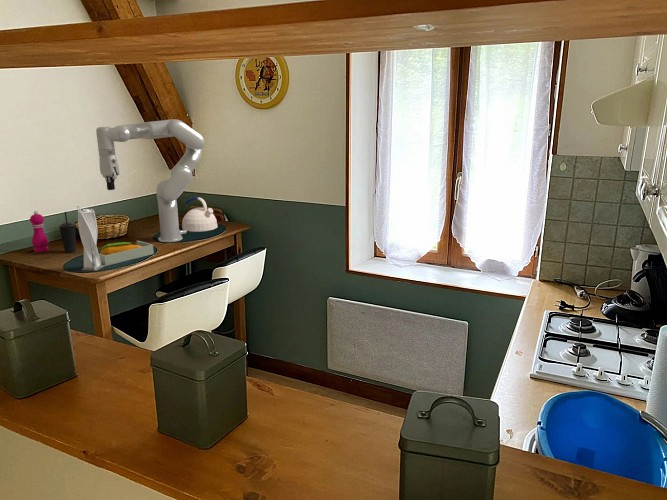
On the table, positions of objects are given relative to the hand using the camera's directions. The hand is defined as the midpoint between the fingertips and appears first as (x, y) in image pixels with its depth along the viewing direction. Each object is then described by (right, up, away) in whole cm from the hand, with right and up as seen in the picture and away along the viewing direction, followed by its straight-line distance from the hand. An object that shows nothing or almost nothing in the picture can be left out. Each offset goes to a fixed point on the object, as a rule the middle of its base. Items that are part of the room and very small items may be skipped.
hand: (111, 189), depth 279 cm
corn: (+11, -34, -12) cm, 37 cm away
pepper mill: (-34, -31, -2) cm, 46 cm away
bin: (+11, -34, -13) cm, 38 cm away
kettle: (+33, -17, +47) cm, 60 cm away
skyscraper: (+3, -38, -29) cm, 48 cm away
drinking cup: (-19, -31, -4) cm, 36 cm away
